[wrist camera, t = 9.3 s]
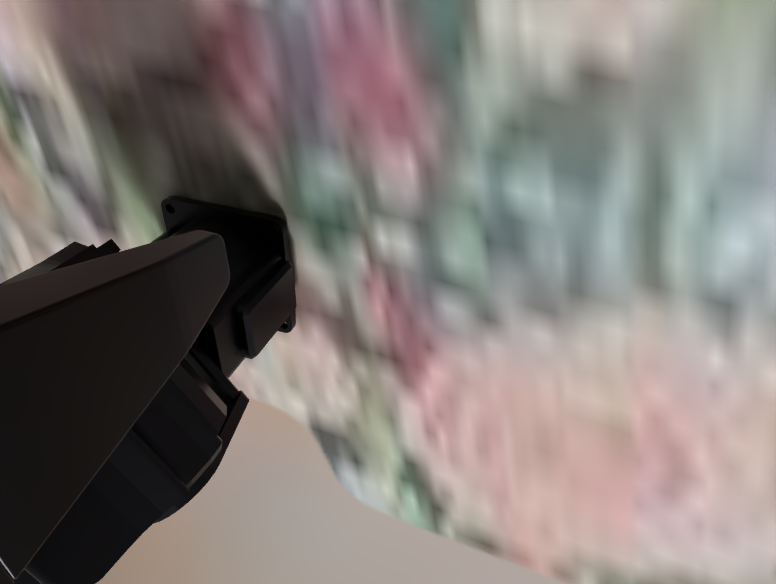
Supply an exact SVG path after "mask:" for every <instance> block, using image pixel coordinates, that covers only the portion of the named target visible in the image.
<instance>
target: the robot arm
mask: <svg viewBox="0 0 776 584" xmlns="http://www.w3.org/2000/svg"><path fill="white" fill-rule="evenodd" d="M171 205H172V206H173V207H174V208H173V207H172V206H171ZM161 207H162V212H163V216H164V220H165V225H166V229H167V231H166V232H165V233H163V234H162V235H161V236H159V237H158V238H157V239H155V240H154V241H152V242H151V243H149V244H146V245H142V246H139V247H135V248H132V249H128V250H125V251H121V252H119V251H120V250H121V249H120V248H119V247H118V246H117V245H116V244H115V242H114V241H113V240H112V239H110V240H109V241H107V242H106V243H104V244H103V245H101V246H100V247H98V248H96V247H95V246H94V245H93V244H92V245H91V246H89V247H88V246H85V245H82V244H80V243H77V242H73V243H71V244H70V245H68V246H67V247H65V248H64V249H62V250H60V251H59V252H57V253H56V254H54V255H52V256H51V257H49V258H47V259H46V260H44V261H42V262H41V263H39V264H37V265H35V266H33V267H32V268H30V269H28V270H26V271H24V272H22V273H20V274H18V275H16V276H14V277H13V278H11V279H9V280H7V281H5V282H3V283H1V284H0V584H95V583H97V582H98V581H99V580H100V579H102V578H103V577H104V576H105V574H106V573H107V572H108V571H109V570H110V569H111V568H112V567H113V565H114V564H115V563H116V562H117V561H118V560H119V559H120V557H121V556H122V555H123V554H124V553H125V552H126V551H127V549H128V548H129V547H130V546H131V545H132V544H133V543H134V542H135V541H136V540H137V539H138V538H139V537H140V536H141V535H142V533H143V532H144V531H146V530H147V529H148V527H150V526H151V525H152V524H153V523H156V522H159V521H161V520H163V519H165V518H167V517H169V516H170V515H172V514H173V513H175V512H176V511H178V510H179V509H180V508H182V507H183V506H184V505H185V504H187V503H188V502H189V501H190V500H191V499H192V498H193V497H194V496H195V495H196V494H197V493H198V492H199V491H200V490H201V489H202V488H203V487H204V486H205V485H206V483H207V482H208V481H209V480H210V478H211V477H212V475H213V474H214V473H215V471H216V469H217V468H218V466H219V464H220V462H221V460H222V458H223V456H224V454H225V452H226V449H227V447H228V445H229V443H230V441H231V439H232V436H233V434H234V432H235V430H236V428H237V426H238V423H239V421H240V419H241V417H242V415H243V413H244V411H245V409H246V406H247V404H248V402H249V399H248V398H247V397H246V395H245V394H244V393H243V392H242V391H238V389H237V388H236V387H235V386H234V385H233V384H232V382H231V381H230V380H229V379H228V378H229V377H230V376H231V374H232V373H233V372H234V371H235V370H236V368H237V367H238V366H239V365H240V364H241V362H242V361H243V360H244V359H245V358H250V359H253V358H254V357H256V356H257V355H258V354H259V353H260V351H261V350H262V349H263V348H264V346H265V345H266V344H267V343H268V342H269V340H270V339H271V338H272V337H273V335H274V334H275V333H276V332H277V331H280V332H284V333H288V332H290V331H291V330H292V329H293V328H294V326H295V324H296V319H295V308H296V295H295V284H294V273H293V266H292V264H291V262H290V255H289V244H288V233H287V226H286V224H285V222H284V221H283V220H282V219H281V218H279V217H277V216H272V215H267V214H262V213H257V212H252V211H247V210H242V209H237V208H232V207H227V206H222V205H217V204H212V203H207V202H202V201H197V200H192V199H187V198H182V197H177V196H169V197H168V198H166V199H165V200H163V201H162V203H161ZM272 225H273V226H275V227H276V228H277V230H278V231H277V230H275V229H274V228H273V226H272ZM284 322H286V323H287V324H286V323H284Z"/></svg>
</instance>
